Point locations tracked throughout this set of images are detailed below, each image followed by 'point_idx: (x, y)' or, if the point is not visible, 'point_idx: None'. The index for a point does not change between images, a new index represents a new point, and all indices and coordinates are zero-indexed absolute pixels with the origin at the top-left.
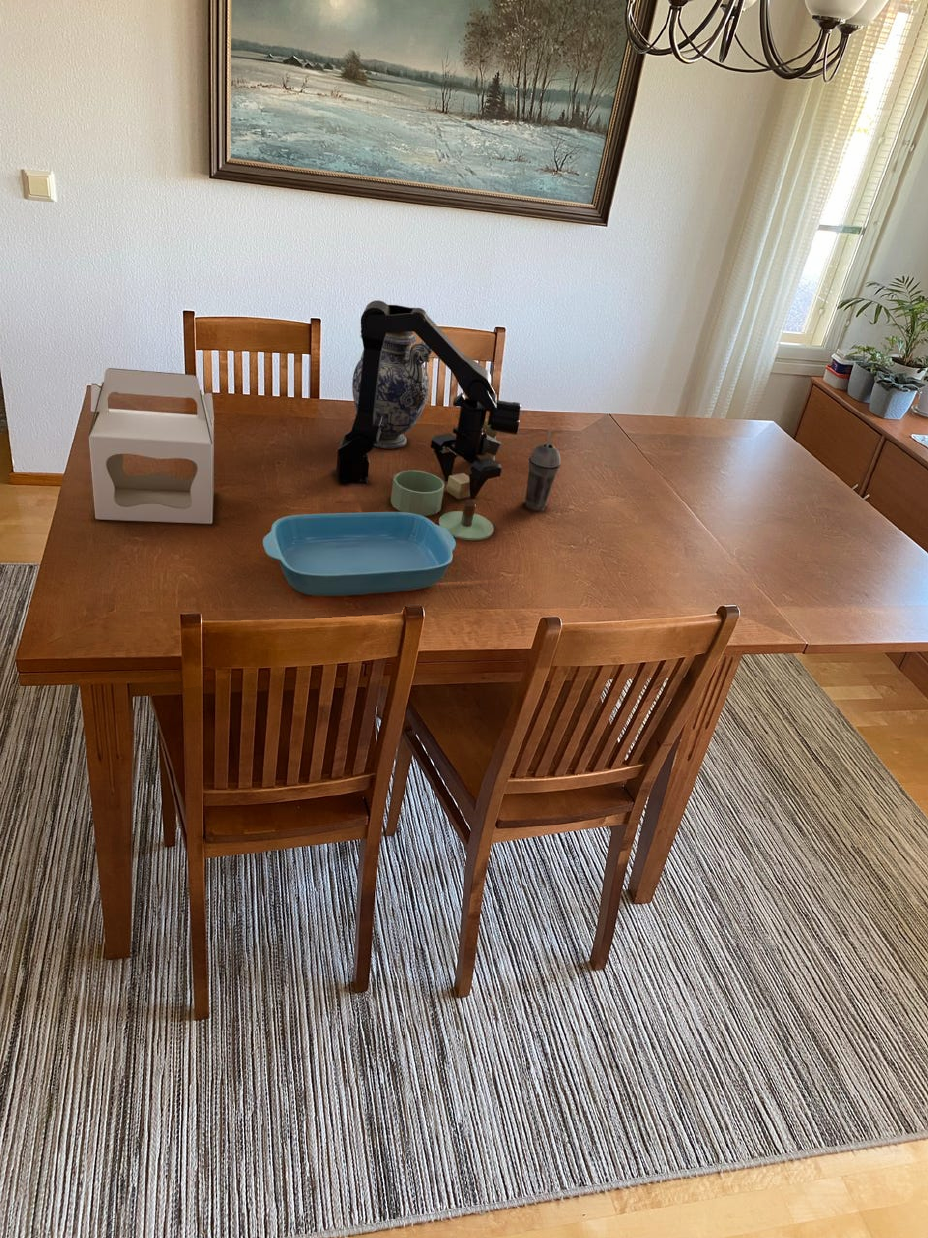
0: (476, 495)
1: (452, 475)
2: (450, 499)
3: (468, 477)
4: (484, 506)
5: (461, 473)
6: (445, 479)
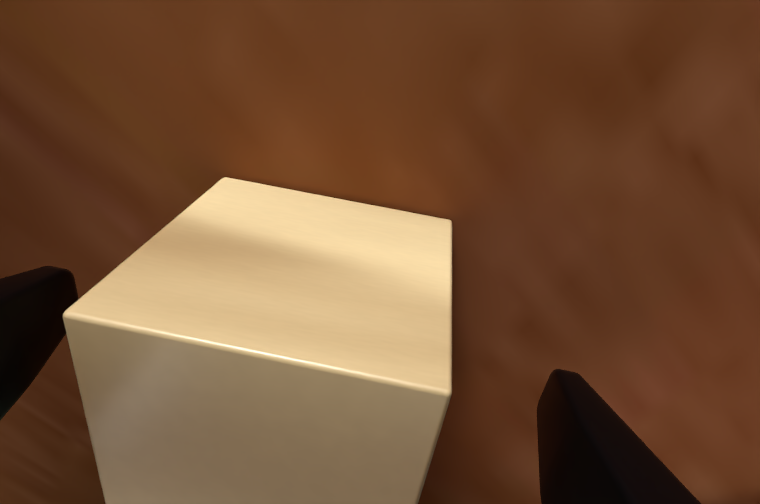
0: (604, 405)
1: (112, 500)
2: None
3: (267, 382)
4: (689, 263)
5: (76, 356)
6: (51, 342)
